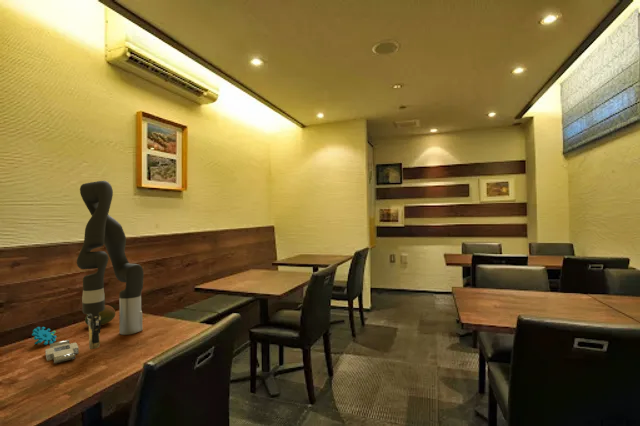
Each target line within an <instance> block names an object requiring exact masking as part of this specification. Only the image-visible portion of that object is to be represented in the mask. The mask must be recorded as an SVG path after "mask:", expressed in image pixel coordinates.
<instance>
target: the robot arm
mask: <svg viewBox="0 0 640 426" xmlns="http://www.w3.org/2000/svg"><path fill="white" fill-rule="evenodd" d="M79 194H80V196H81V198H82V201H83V203H84V204H85V206H86V208H87V210H88V211H89V213H90V215H91V217H89V219H88V221H87V223H86V225H85V229H84V239H83V242H82V243H83V244H82V247H81V249H80V251H79V254H78V256H77V258H76V265H77V267H78V268H79V269H80V270H94V269H97V271H96V272H94V273H91V274H88V275H87V274H86V275H84V276H83V278H82V295H81V296H82V297H81V300H82V302H81V304H82V313H83V314H84V315H86V316H87V320H88V325H87V328H88V330H89V326H90V329H91V331H92V333H91V334H92V343H93V344H95V343H98V342H99V338H100V333H101V332H102V331H101V328H102V327H101V326H102V325H101V316H99V312H101V311H103V310H104V309H105V305H106V304H105V303H106V300H105V287H104V286H105V284H104V283H105V280H104V278H105V272H106V268H107V265H108V263H109V259H110V261H111V265H112V269H113V272H114V275H115V278H116V279H117V281H119V282H121V283H125V288H124V289H123V290H121V291H119V294H118V295H119V311H118V312H119V315H118V316H119V318H118V319H119V326H118V327H119V332H118V333H119V334H120V335H125V336H126V335H128V336H129V335H134V334H136V333H138V332H141V331H143V311H142V292H143V289H144V288H143V287H144V276H145V274H144V268H143V266H141V264H139V263H138V264H137V263H130V262H129V260H128V259H127V258H128V257H127V255H126V253H125V251H126V243H127V237H126V234H125V231H124V229H123V226H122V224H120V223H119V221H117V220H116V219H115V218H113V217H112V216H111V215H110V214H109V212H110V208H111V205H112V201H113V195H114V192H113V187H112V185H111V184H110V182H109V181H107V180H98V181H91V182H85V183H82V184H80V188H79ZM103 246H104V247H105V250H106V251H107V252H106V251H103V250H100V251H99V250H98V251H92V250H94V249H97V248H101V247H103ZM87 314H89V315H87ZM92 326H93V327H92ZM95 329H97V331H95Z"/></svg>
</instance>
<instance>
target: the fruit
mask: <svg viewBox="0 0 640 426" xmlns="http://www.w3.org/2000/svg"><path fill="white" fill-rule="evenodd" d="M87 315H89V314H86V316H85V317H84V323H85V325H87V326H88V320H87ZM99 316H101V326H103V325H107V324H108V323H109V322H111V321H113V320H114V318H115V317H116V310H115V308H114V307H112V306H111V305H109V304H105V309H104V310H103V311H101V312H99Z"/></svg>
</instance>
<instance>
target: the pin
mask: <svg viewBox="0 0 640 426" xmlns="http://www.w3.org/2000/svg"><path fill="white" fill-rule="evenodd" d="M92 327H93V326H92ZM95 331H97V329H95ZM91 333H92V331H91V329H90V326H89V329H88V340H89V341H88V345H89V347H88V349H89V350H96V349H98V348H100V347H101V346H100V345H101V344H100V343H101V342H100V337H99V342H98V343H95V344H93V343H92V334H91Z"/></svg>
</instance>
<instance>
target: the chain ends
mask: <svg viewBox="0 0 640 426" xmlns="http://www.w3.org/2000/svg"><path fill="white" fill-rule="evenodd" d="M79 349H80V348H79V345H78V343H77V342H71V343H70V339H66V340H61V341H57V342H56V341H55V342H53V343H51V344H49V348H45V360H46V362H48V361H52V360H53V364H55V365H56V364H59V363H63V362H67V361H72V360H74V359H76V355H77V354H79Z"/></svg>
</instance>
